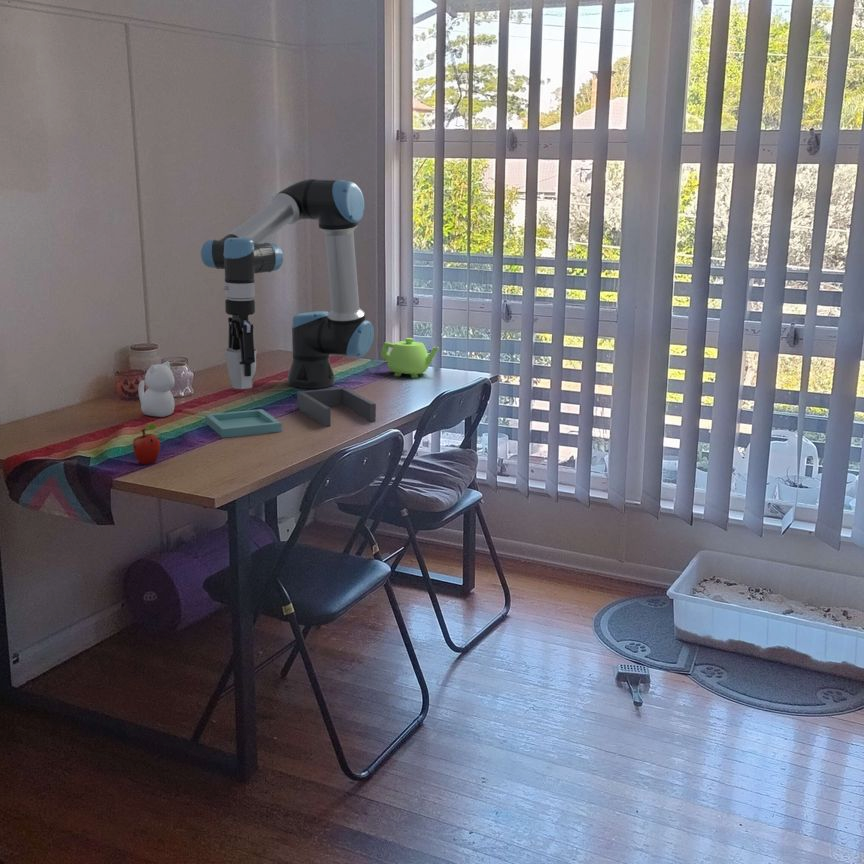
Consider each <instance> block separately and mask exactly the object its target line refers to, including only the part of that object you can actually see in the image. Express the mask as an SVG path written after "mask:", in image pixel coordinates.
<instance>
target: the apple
mask: <svg viewBox="0 0 864 864" xmlns="http://www.w3.org/2000/svg"><path fill="white" fill-rule="evenodd" d="M155 429H157V427H156V425H155V424H154V423H149V424H148V425H147V426H146V427H144V428H141V432H142V435H140V436H136V437H135V438H134V439H133V440H132V449H133V453H134V456H135V458H136V460H137V462H139V463H140V464H141V465H149V464H154V463H155V462H156V461H157V460H158V457H159V455H160V451H161V441H160V438H159V437H158V436H157V435H156V434H153V433H147V434H146V430H150V431H151V430H155Z"/></svg>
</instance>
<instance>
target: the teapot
mask: <svg viewBox="0 0 864 864" xmlns="http://www.w3.org/2000/svg"><path fill="white" fill-rule="evenodd" d="M390 348H391V351H390V353H389V349H390ZM439 349H440V348H439V347H438V346H433V347H432V349H431V351H430V353H428V350H427V348H426V346H425V344H424V343H423V342H420V341H414V338H413V337H405V338H404V340H401V341H397V342H396V343H394V342H388V341H385V342H383V345H382V349H381V353H380V357H381V358H382V359H384V360H385V361H386V362H387V368H388V369H389V371H391V373H392V372H393V373H394V374H393V377H401V376H402V374H405V375H410V378H412V379H418V378H419V375H424V373H426V372H427V370H428V369H429V367H430V365H431V364H432V361H433V359H434V358H435V356H436V354H437V352H438V351H439Z"/></svg>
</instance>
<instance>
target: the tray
mask: <svg viewBox="0 0 864 864" xmlns="http://www.w3.org/2000/svg"><path fill="white" fill-rule="evenodd" d="M204 415H205V416H204V419H205V424H206V425H208V427H210V428H211V429H212V430H213V431H214V432H216V433H217V434H218V435H219V436H220V437H221V438H222V439H223V438H233V437H242V436H243V437H244V436H251V435H259V434H269V433H270V434H271V433H280V432H282V431H283V427H282V425H283V423H282V422H281V421H279V420H278V419H277V418H275V417H274V416H272V415H271V414H270V413H268V412H267V411H266V410H264V409H262V408H261V409H260V408H259V409H251V410H250V409H249V410H238V411H229V412H219V413H207V414H204Z"/></svg>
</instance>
